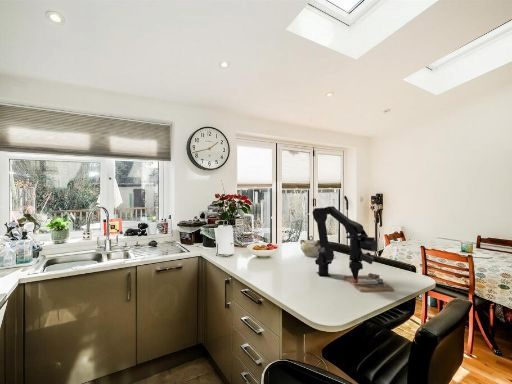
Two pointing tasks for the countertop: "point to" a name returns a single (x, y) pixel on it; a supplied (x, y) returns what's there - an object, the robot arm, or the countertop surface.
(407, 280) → the countertop surface
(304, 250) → the sugar bowl
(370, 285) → the cracker base
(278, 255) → the countertop surface
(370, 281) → the lever
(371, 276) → the walnut
